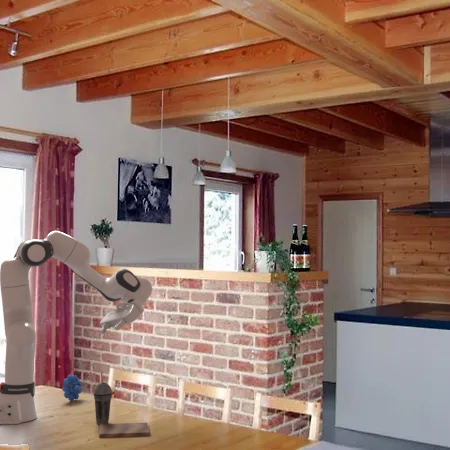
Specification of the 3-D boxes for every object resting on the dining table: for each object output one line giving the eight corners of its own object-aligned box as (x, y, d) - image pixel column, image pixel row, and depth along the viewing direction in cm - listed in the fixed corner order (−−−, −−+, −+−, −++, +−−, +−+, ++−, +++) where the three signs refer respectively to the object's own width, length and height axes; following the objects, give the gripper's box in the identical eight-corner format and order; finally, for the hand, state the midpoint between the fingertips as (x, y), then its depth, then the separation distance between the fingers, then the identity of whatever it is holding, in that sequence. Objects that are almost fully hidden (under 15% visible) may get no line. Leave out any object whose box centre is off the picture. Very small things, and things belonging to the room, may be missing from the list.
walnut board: (99, 437, 242) (99, 434, 242) (99, 427, 255) (99, 424, 255) (149, 435, 245) (149, 432, 245) (147, 425, 258) (147, 422, 259)
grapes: (69, 404, 292) (70, 377, 292) (58, 403, 295) (58, 375, 296) (88, 399, 302) (88, 373, 302) (76, 398, 305) (77, 371, 306)
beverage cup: (115, 422, 263) (116, 371, 264) (104, 426, 257) (105, 374, 257) (100, 420, 266) (101, 369, 267) (89, 424, 260) (90, 372, 260)
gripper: (107, 307, 288) (89, 328, 278) (138, 298, 275) (119, 321, 265) (116, 318, 290) (98, 340, 280) (147, 310, 277) (129, 332, 267)
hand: (109, 330), depth 272 cm, fingers open, 8 cm apart
